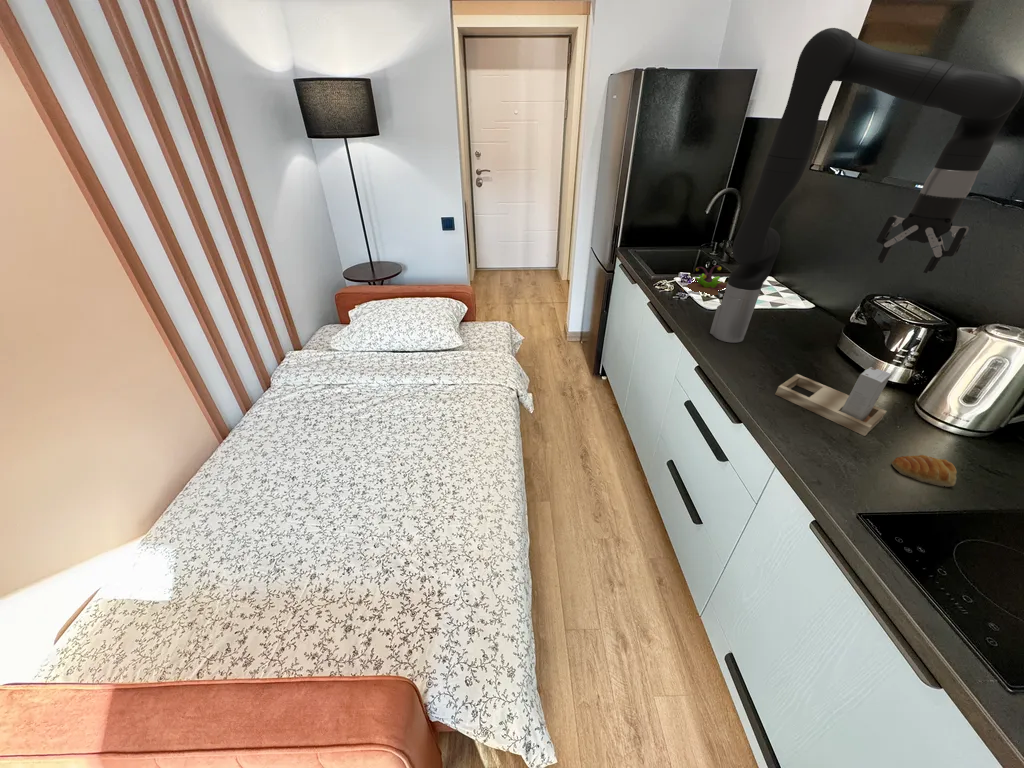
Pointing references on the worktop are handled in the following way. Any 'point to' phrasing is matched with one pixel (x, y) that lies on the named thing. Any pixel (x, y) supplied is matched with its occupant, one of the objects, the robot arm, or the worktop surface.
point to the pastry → (927, 469)
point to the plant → (707, 283)
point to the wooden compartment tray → (827, 403)
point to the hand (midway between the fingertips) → (903, 267)
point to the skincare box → (865, 393)
